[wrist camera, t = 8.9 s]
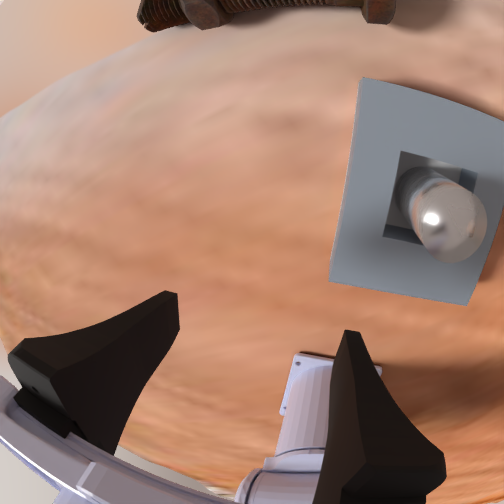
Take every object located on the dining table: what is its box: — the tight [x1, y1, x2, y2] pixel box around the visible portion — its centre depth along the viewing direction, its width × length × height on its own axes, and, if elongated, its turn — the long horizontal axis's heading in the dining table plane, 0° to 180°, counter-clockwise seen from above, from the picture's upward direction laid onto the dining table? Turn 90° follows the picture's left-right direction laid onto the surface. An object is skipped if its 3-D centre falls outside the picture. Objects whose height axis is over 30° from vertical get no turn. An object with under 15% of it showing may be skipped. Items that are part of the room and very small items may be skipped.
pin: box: [395, 166, 487, 263], centre depth 14 cm, size 4×4×6 cm
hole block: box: [329, 77, 504, 306], centre depth 16 cm, size 12×10×3 cm
